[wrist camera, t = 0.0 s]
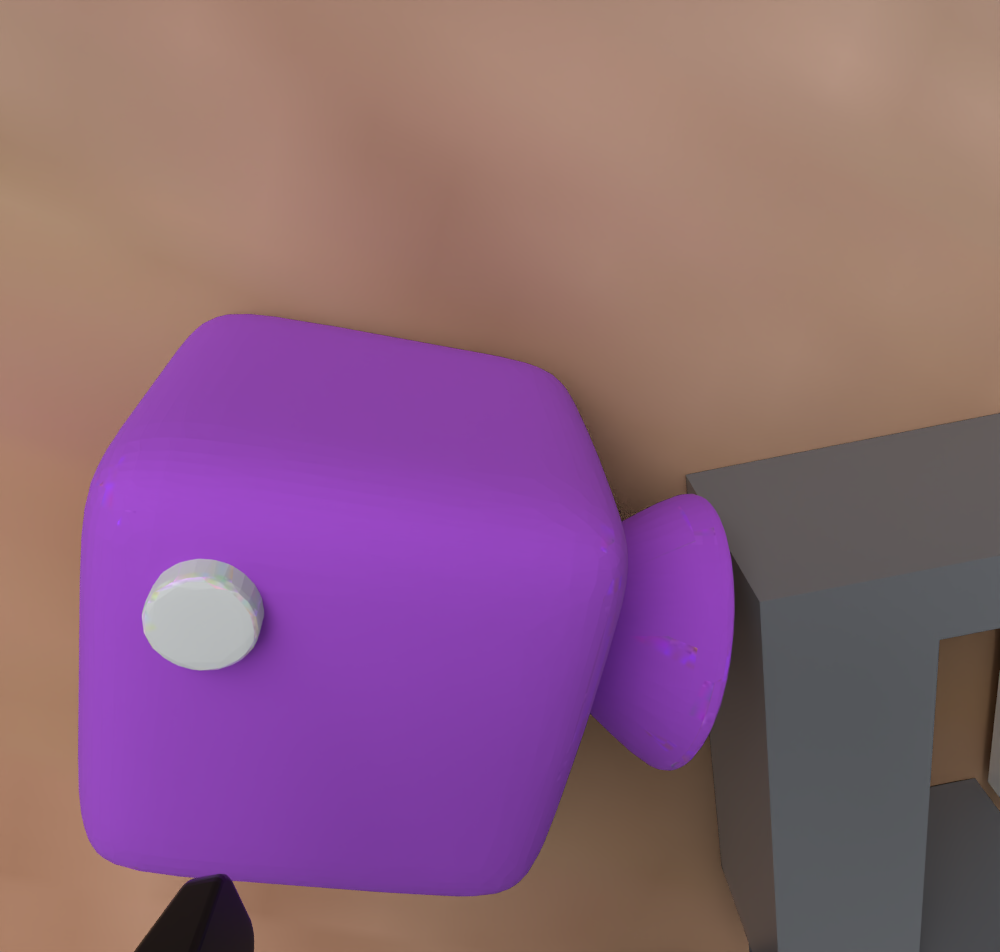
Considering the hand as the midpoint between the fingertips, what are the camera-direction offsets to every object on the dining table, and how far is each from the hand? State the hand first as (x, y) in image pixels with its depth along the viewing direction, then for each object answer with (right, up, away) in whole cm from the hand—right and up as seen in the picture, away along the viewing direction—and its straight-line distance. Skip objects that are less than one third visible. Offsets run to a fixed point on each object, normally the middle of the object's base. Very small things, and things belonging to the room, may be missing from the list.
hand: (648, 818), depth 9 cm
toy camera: (-4, +3, +15) cm, 16 cm away
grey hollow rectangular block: (+9, -2, +19) cm, 21 cm away
